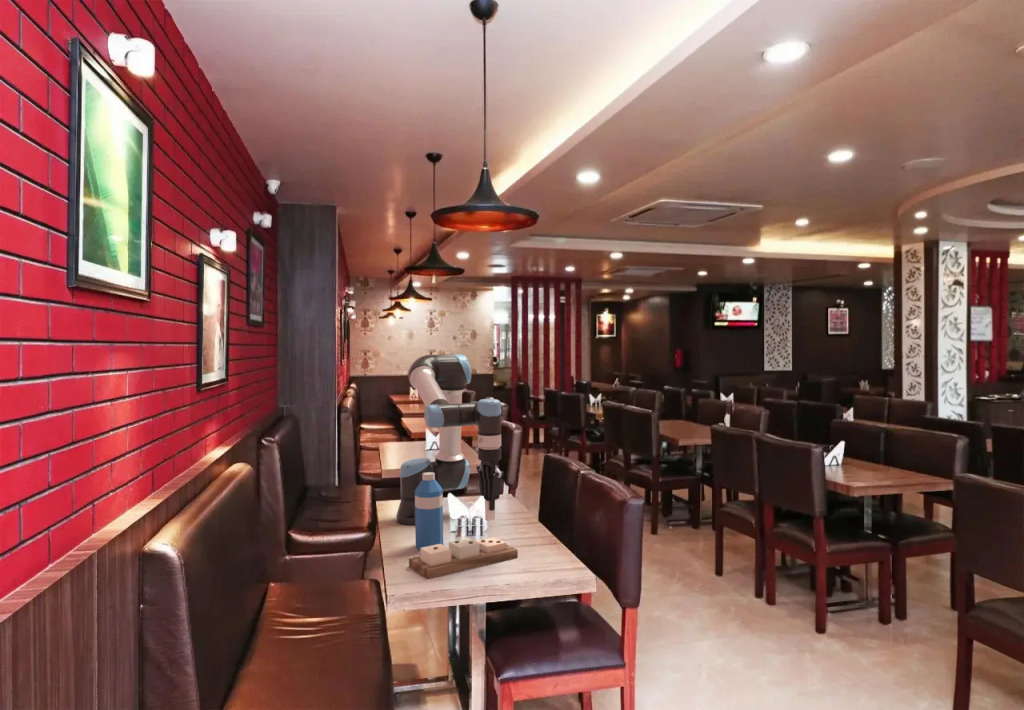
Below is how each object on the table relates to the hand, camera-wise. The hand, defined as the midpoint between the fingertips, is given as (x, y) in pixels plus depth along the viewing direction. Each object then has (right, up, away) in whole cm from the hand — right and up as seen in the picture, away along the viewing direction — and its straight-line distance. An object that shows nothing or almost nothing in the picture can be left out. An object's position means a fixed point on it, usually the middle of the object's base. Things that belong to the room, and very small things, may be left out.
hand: (490, 519), depth 212 cm
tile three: (0, -11, 0) cm, 11 cm away
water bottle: (-21, -12, +10) cm, 26 cm away
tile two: (-8, -10, -6) cm, 14 cm away
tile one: (-16, -10, -11) cm, 22 cm away
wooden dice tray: (-8, -12, -6) cm, 15 cm away
